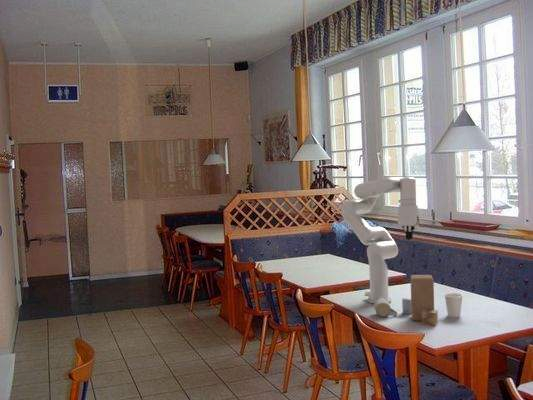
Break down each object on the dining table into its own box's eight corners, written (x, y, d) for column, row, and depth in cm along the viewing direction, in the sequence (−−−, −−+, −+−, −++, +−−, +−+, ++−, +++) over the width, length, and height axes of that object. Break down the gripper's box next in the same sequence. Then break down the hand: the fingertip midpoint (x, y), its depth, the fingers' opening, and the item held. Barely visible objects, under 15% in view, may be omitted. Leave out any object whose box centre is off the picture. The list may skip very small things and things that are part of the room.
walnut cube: (421, 325, 271) (421, 312, 270) (424, 321, 276) (423, 309, 276) (435, 326, 268) (435, 313, 268) (437, 322, 274) (437, 309, 273)
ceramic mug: (376, 317, 286) (375, 301, 286) (373, 313, 294) (373, 298, 294) (398, 317, 286) (398, 301, 285) (395, 313, 294) (395, 297, 293)
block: (434, 321, 275) (433, 278, 274) (412, 321, 277) (411, 278, 276) (433, 316, 285) (432, 274, 284) (411, 315, 287) (410, 274, 286)
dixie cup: (441, 315, 287) (440, 294, 286) (455, 312, 290) (454, 292, 289) (453, 319, 279) (452, 297, 278) (467, 316, 282) (466, 295, 282)
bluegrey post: (400, 313, 293) (400, 299, 292) (406, 311, 296) (405, 297, 296) (409, 315, 289) (409, 300, 289) (415, 312, 293) (414, 298, 292)
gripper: (391, 202, 300) (392, 239, 301) (417, 203, 289) (418, 241, 290) (399, 201, 305) (400, 237, 306) (425, 202, 295) (426, 239, 296)
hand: (409, 239), depth 298 cm, fingers closed
